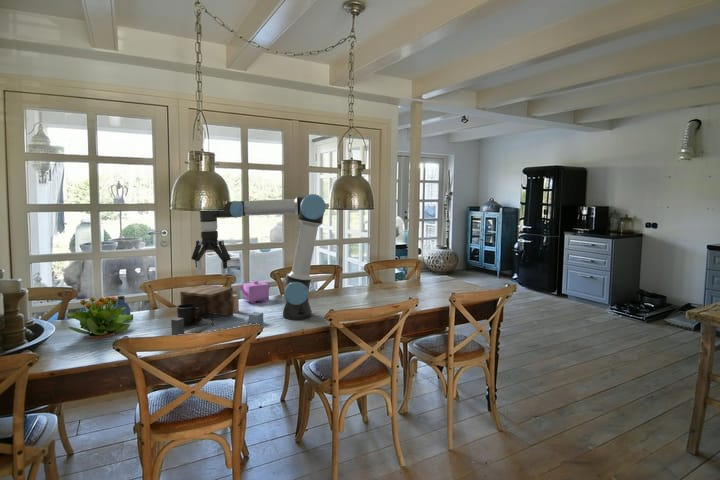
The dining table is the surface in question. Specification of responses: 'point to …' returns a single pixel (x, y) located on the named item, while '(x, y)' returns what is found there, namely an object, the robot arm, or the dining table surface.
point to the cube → (256, 318)
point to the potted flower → (101, 318)
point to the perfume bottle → (122, 305)
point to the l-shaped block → (235, 303)
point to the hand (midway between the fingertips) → (211, 274)
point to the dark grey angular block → (179, 329)
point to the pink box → (255, 291)
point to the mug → (188, 313)
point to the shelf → (209, 299)
